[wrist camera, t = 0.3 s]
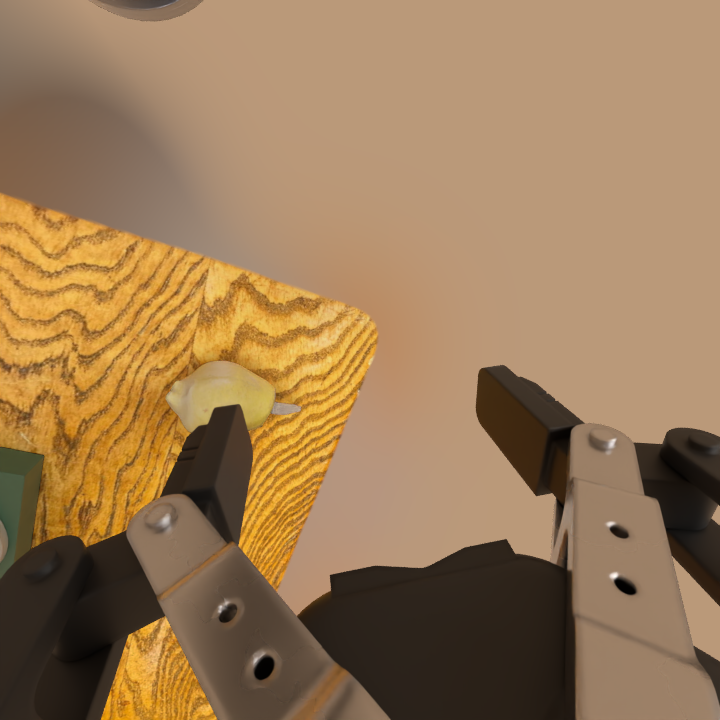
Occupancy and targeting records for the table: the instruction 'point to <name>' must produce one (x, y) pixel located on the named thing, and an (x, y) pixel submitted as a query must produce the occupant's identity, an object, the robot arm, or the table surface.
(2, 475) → the scale
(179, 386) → the fruit
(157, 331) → the table surface
